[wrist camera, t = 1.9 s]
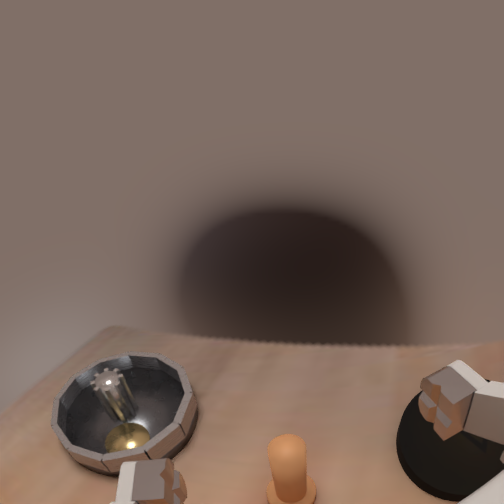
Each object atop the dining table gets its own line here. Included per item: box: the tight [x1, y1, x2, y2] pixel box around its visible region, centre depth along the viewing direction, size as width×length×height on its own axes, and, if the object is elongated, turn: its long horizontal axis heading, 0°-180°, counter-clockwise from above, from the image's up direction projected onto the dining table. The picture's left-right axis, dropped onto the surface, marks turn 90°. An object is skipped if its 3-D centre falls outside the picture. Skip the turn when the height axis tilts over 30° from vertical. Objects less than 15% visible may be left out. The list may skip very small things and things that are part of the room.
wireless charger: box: [396, 379, 504, 501], centre depth 26 cm, size 18×18×2 cm
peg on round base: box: [267, 434, 316, 504], centre depth 24 cm, size 5×5×10 cm
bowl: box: [51, 351, 198, 477], centre depth 36 cm, size 20×20×8 cm
